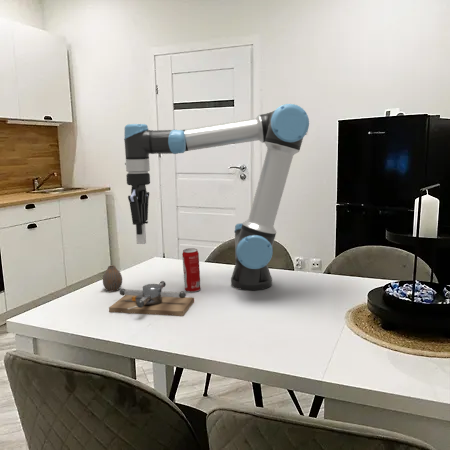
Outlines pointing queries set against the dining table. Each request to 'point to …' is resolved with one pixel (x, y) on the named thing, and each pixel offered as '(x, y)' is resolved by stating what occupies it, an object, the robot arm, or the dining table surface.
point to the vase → (112, 279)
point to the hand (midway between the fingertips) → (141, 243)
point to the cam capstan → (151, 294)
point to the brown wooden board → (153, 306)
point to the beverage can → (191, 270)
